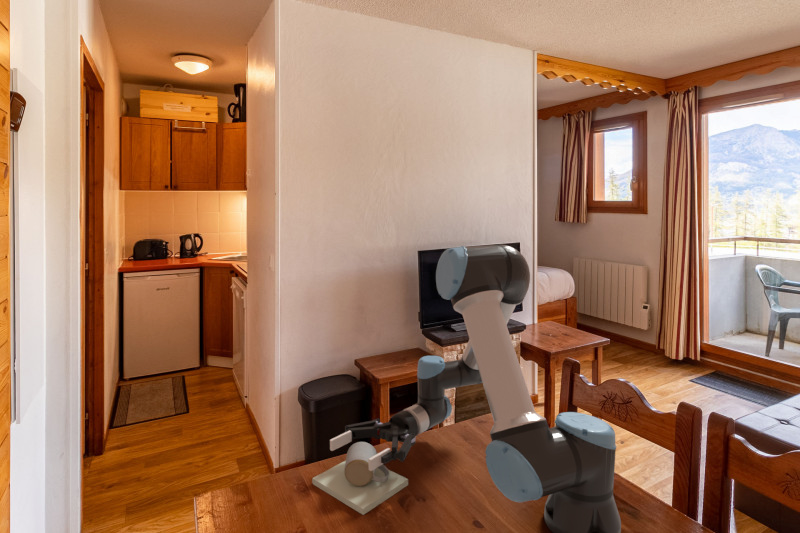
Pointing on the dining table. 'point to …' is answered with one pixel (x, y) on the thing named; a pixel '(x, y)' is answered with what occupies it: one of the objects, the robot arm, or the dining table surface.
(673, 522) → the dining table surface
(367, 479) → the ceramic mug
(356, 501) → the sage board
